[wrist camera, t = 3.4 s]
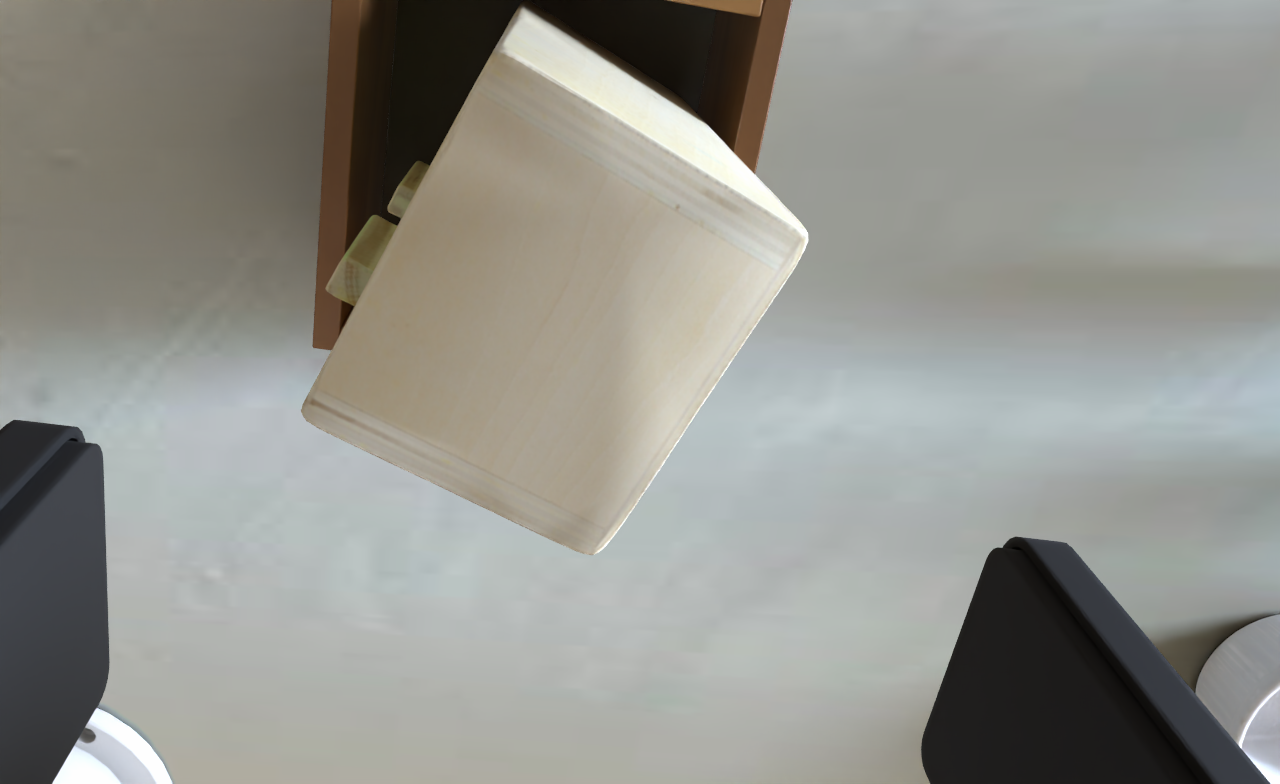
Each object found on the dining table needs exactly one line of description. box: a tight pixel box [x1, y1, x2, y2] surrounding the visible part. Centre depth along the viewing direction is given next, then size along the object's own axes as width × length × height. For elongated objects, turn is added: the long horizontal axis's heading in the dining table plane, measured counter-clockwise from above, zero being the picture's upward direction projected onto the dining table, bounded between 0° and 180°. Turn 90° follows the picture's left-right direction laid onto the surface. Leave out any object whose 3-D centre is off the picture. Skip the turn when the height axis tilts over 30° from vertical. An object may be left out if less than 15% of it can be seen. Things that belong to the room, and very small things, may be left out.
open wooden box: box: [313, 0, 793, 350], centre depth 34 cm, size 13×13×8 cm
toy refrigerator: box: [301, 0, 808, 555], centre depth 28 cm, size 8×7×21 cm
